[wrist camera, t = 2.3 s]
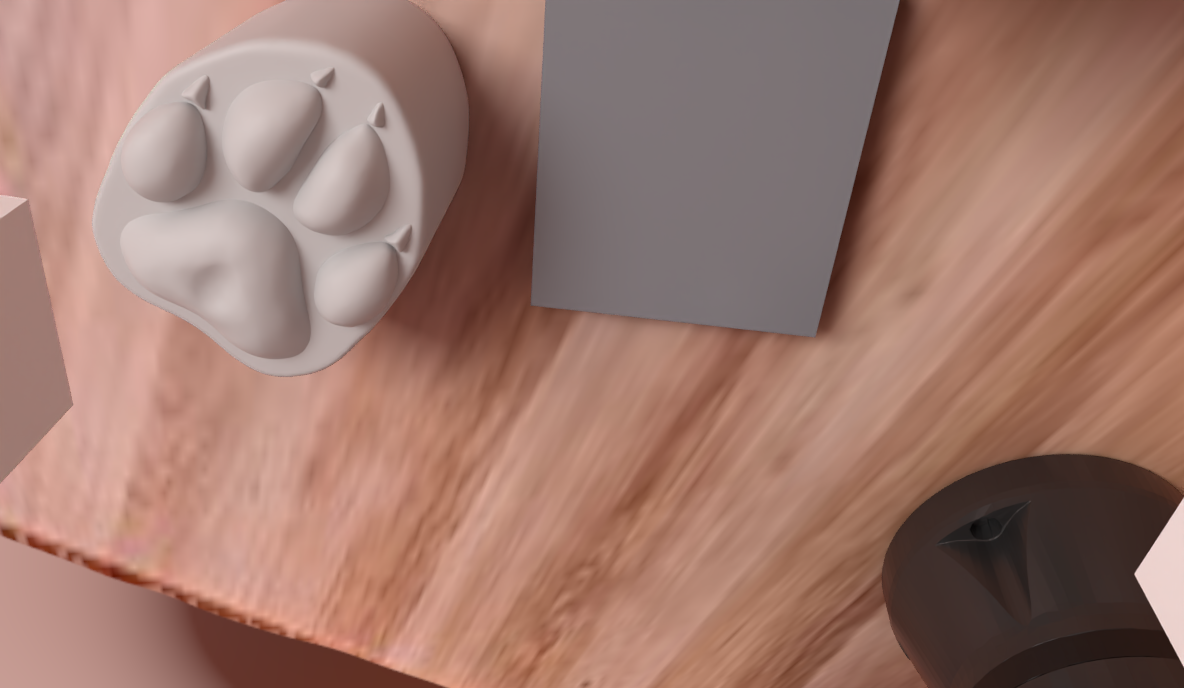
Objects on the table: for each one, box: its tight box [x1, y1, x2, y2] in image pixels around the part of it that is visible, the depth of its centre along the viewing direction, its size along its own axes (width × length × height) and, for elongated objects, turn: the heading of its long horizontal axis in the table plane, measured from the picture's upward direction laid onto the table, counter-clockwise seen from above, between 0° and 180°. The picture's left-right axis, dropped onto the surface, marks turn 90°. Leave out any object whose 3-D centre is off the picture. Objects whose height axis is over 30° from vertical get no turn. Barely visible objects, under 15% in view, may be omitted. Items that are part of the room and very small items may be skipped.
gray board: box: [531, 0, 900, 337], centre depth 36 cm, size 14×12×2 cm
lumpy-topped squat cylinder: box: [92, 0, 469, 377], centre depth 34 cm, size 10×13×9 cm
